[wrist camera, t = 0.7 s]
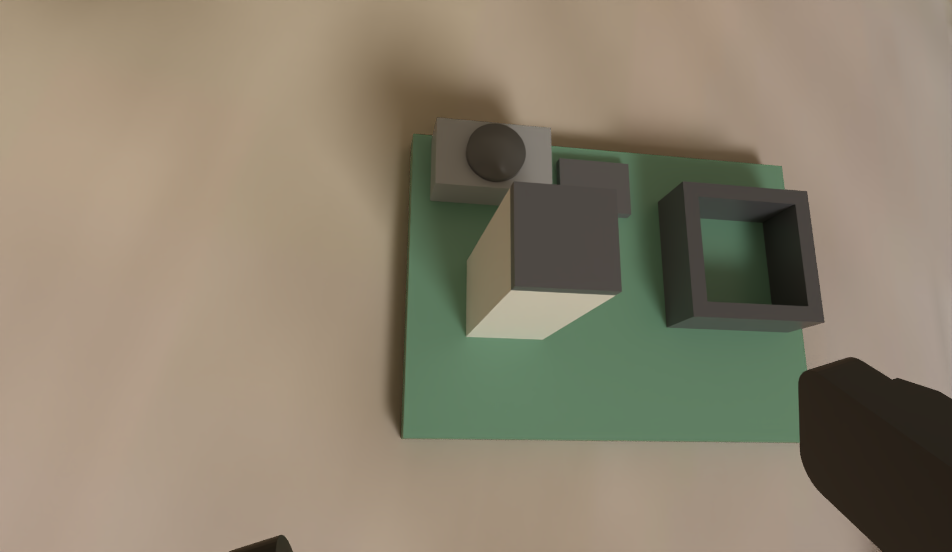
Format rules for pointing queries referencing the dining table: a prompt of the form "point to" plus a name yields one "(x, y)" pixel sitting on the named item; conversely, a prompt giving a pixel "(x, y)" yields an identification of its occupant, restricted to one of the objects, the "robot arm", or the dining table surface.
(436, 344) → the board
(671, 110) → the dining table surface
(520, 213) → the plug
